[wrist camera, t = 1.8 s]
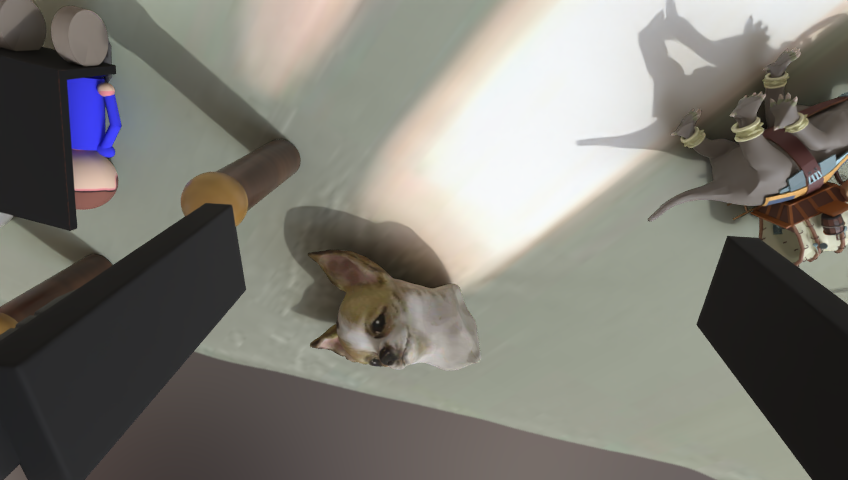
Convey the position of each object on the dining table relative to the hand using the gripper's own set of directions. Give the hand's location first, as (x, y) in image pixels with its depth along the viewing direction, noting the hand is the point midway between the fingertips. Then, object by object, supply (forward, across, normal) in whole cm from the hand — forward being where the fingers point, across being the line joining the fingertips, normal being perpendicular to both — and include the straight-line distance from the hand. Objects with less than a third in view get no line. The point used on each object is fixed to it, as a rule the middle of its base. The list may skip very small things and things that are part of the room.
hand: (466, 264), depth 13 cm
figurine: (+24, +23, -3) cm, 34 cm away
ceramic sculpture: (+24, -5, -16) cm, 29 cm away
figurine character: (+24, -30, -1) cm, 38 cm away
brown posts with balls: (+23, -24, -10) cm, 35 cm away
